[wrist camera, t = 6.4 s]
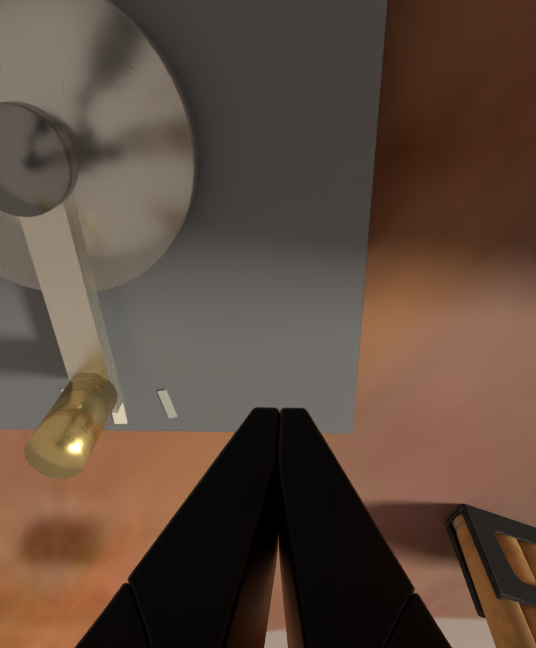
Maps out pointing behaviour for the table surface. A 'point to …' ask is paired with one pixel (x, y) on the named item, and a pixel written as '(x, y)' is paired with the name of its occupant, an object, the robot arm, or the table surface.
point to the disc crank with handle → (86, 188)
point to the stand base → (240, 229)
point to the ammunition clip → (498, 572)
